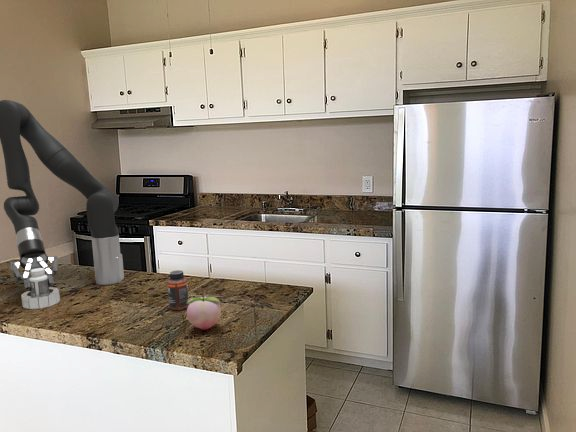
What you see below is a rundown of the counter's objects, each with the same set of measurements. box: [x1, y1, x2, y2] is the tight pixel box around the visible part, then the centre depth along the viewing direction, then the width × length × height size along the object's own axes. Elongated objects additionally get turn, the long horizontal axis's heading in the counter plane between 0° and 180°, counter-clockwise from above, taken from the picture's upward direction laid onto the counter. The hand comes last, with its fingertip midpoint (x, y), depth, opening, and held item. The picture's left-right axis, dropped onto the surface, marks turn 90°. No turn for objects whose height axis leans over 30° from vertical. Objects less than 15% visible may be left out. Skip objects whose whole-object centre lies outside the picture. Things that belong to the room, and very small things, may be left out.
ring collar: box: [20, 286, 61, 310], centre depth 148 cm, size 10×10×4 cm
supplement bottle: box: [166, 270, 190, 311], centre depth 141 cm, size 6×6×11 cm
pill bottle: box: [28, 268, 50, 297], centre depth 148 cm, size 5×5×10 cm
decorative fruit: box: [186, 293, 222, 330], centre depth 124 cm, size 9×8×10 cm
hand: (40, 287), depth 147 cm, fingers closed on pill bottle, 5 cm apart
